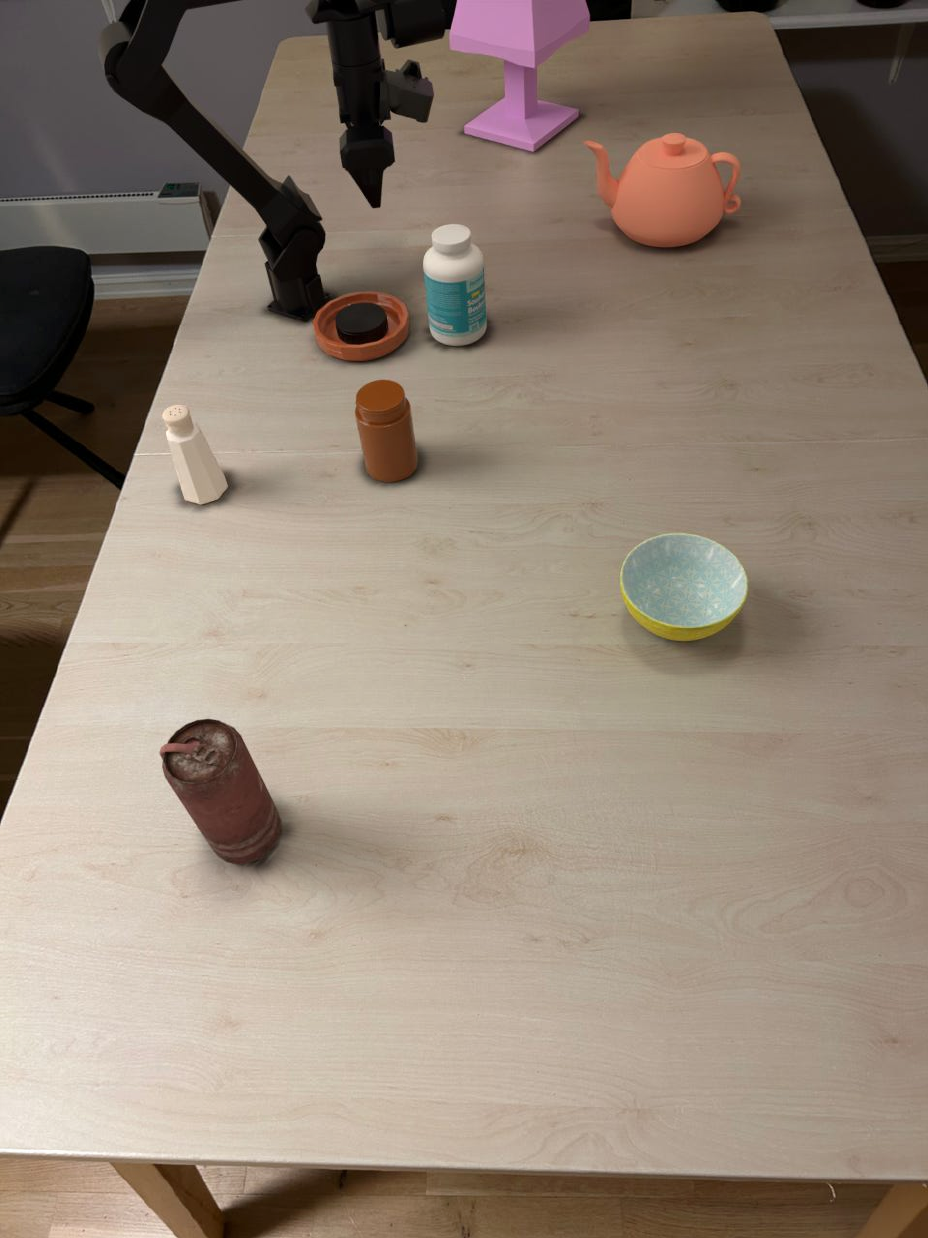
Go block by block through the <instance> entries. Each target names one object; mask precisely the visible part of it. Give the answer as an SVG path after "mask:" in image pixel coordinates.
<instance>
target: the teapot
mask: <svg viewBox="0 0 928 1238" xmlns="http://www.w3.org/2000/svg"><path fill="white" fill-rule="evenodd" d="M582 143H583V144H584V145H585V146H586V147H587V148H588V149H589V150H591V152H592V153H593V155H594V157H595V162H596V187H597V192H598V195H599V197H600V199H601V200H602V202H603V203H604V204H605V205H606V206H608V207H609V208H610V213H611V217H612V219H613V221H614V223H615V224H616V226H617V227H618V228H619V229H620V230H621V232H622V233H623V234H624V235H625V236H626V237H628V238H629V239H630V240H631V241H634V242H636V243H639V244H640V245H641V244H642V245H646V246H649V247H655V248H675V247H677V248H678V247H682V246H687V245H690V244H693V243H696V242H698V241H700V240H701V239H703V238H704V237H705V236H707V235H708V234H709V233H710V232H712V231H713V230H714V229H715V228H716V226H717V225H719V223H720V221H721V220H722V217H723V214H725V215H732V214H735V213H737V212H738V211H739V209H740V208H741V204H742V200H741V197H740V196H739V195H738V194H736V193H735V194H733V192H734V190H735V188H736V187H737V184H738V182H739V179H740V175H741V163H740V160H739V159H738V158H737V156H735V155H734V154H733V153H730V152H727V151H720V152H716V153H713V154H712V155H711V153H710V152H709V150H708V148H707V147H706V146H705V144H703V143H702V142H700V141H698V140H696V139H694V138H691V137H687V136H686V135H685V134H683V133H679V132H670V133H666V134H664V135H663V136H662V137H655V138H654V139H651V140H648V141H646V142H644V143H643V144H642V145H641V146H640V147H639V148H638V149H637V150H636V151H635V152H634V154H633V156H632V157H631V158H630V159H629V161H628V163H627V164H626V165H625V166H624V168H623V170H622V171H621V173H620V175H619V177H618V180H617V179H615V178H614V177H613V176H612V175H611V173H610V158H609V154H608V151H607V149H606V148H605V146H604V145H602V144H600V143H598V142H596V141H591V140H583V141H582ZM717 163H727V164H729V165H731V167H732V173H731V177H730V179H729V182H728V184H727V186H726V188H725V190H724V185H723V181H722V177H721V175H720V172H719V169H718V167H717V165H716V164H717ZM729 202H734V203H733V204H729Z"/></svg>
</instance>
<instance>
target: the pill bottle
mask: <svg viewBox="0 0 928 1238" xmlns="http://www.w3.org/2000/svg"><path fill="white" fill-rule="evenodd" d="M422 269H423V277H424V287H425V295H426V305H427V315H428V325H429V330H430V334H431V336H432V337H433V339H434V340H436V341H437V342H438V343H440V344H443V345H445V346H453V347H462V346H467V345H470V344H473V343H475V342H477V341H479V340H480V339H481V338H482V337H483V336H484V335H485V333H486V331H487V326H488V320H487V319H488V318H487V301H486V300H487V299H486V282H485V281H486V279H485V278H486V277H485V259H484V255H483V252H482V251H481V249H480V248H479V246H477V245H476V244H474V243H472V233H471V230H470V229H469V228H468V227H467V226H465V225H463V224H458V223H448V224H444V225H441V226H438V227H436V228H435V229H434V230H433V231H432V233H431V246H430V248H428V249H427V251H426V252H425V254H424V256H423V260H422Z"/></svg>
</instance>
